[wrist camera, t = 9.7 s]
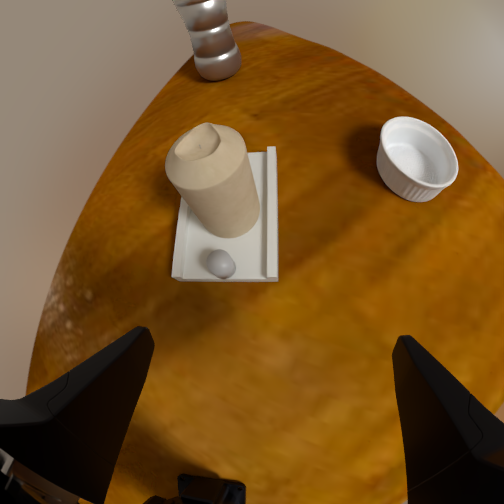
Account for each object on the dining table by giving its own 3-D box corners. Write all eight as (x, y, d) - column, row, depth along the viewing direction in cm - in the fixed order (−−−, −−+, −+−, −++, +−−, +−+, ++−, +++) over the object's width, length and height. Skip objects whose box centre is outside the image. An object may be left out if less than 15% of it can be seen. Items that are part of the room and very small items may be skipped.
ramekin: (400, 130, 26) (410, 106, 22) (453, 182, 24) (470, 161, 19) (355, 162, 26) (362, 136, 22) (414, 224, 23) (433, 204, 19)
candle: (218, 179, 26) (184, 106, 17) (270, 195, 25) (256, 117, 15) (191, 227, 25) (140, 166, 15) (245, 248, 23) (214, 187, 14)
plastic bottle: (193, 76, 34) (151, -30, 15) (229, 58, 35) (200, -46, 16) (213, 91, 32) (170, -33, 13) (253, 71, 33) (227, -49, 14)
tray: (278, 281, 23) (276, 273, 20) (179, 281, 24) (165, 273, 22) (276, 157, 27) (274, 138, 24) (194, 163, 28) (185, 147, 25)
